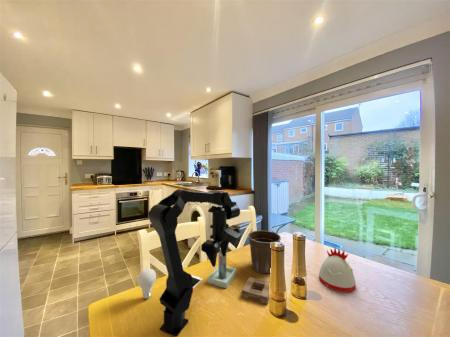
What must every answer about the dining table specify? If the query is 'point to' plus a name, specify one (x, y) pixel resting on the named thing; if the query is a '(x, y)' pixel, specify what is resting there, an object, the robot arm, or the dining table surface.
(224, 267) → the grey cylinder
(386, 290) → the dining table surface
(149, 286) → the light bulb
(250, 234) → the plant pot
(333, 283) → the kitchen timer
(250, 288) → the socket block
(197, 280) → the cell phone
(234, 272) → the tray
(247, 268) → the dining table surface
